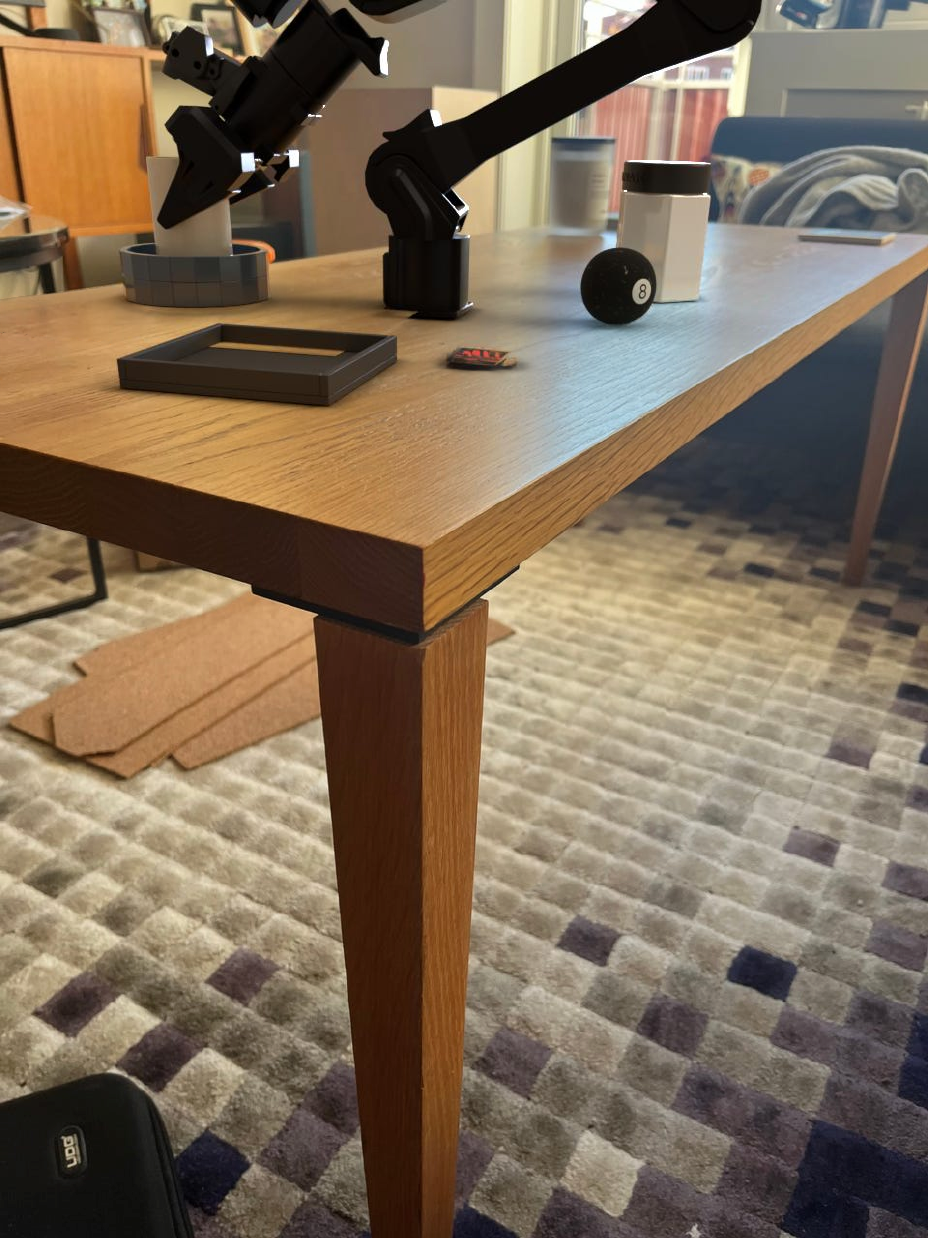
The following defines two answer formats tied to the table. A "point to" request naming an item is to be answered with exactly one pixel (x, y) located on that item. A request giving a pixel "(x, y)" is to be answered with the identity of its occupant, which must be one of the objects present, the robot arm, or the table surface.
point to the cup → (195, 234)
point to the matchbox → (480, 356)
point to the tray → (259, 364)
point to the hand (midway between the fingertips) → (176, 221)
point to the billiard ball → (618, 286)
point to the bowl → (195, 277)
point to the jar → (667, 222)
